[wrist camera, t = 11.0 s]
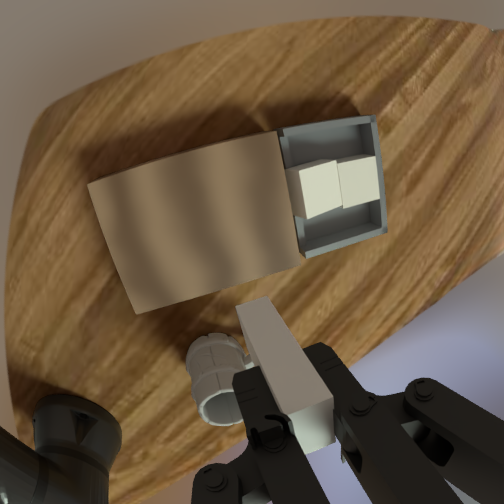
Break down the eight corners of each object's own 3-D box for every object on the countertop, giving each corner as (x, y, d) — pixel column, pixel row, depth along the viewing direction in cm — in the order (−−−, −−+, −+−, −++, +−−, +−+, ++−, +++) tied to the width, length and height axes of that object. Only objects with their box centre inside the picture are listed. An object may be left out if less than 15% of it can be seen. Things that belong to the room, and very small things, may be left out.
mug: (175, 340, 38) (182, 412, 27) (265, 311, 39) (300, 374, 29) (195, 381, 41) (208, 450, 30) (277, 355, 43) (309, 417, 32)
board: (139, 296, 35) (136, 314, 31) (96, 178, 29) (86, 184, 26) (288, 251, 37) (301, 264, 34) (264, 131, 32) (276, 130, 28)
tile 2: (292, 215, 34) (307, 219, 32) (284, 169, 32) (298, 170, 30) (327, 201, 36) (342, 205, 33) (320, 159, 34) (336, 160, 32)
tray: (296, 249, 37) (306, 258, 35) (273, 129, 32) (282, 129, 29) (374, 225, 39) (387, 232, 36) (360, 115, 33) (375, 115, 31)
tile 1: (379, 198, 34) (368, 194, 37) (375, 156, 32) (363, 153, 35) (343, 208, 34) (332, 203, 36) (337, 163, 32) (326, 161, 34)
